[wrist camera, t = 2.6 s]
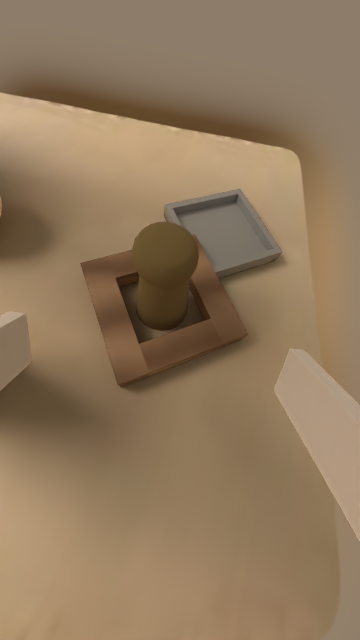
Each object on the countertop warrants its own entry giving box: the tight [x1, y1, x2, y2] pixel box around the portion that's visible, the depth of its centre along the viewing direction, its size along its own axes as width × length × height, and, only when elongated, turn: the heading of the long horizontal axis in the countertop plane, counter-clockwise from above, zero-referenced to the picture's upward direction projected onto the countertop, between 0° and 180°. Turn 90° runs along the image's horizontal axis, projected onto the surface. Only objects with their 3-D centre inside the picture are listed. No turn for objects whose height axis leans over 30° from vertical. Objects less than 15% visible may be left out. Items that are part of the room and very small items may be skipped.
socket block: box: [81, 234, 248, 387], centre depth 25 cm, size 14×14×2 cm
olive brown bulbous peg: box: [132, 222, 199, 330], centre depth 21 cm, size 6×6×11 cm
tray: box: [164, 189, 282, 278], centre depth 30 cm, size 12×12×2 cm
